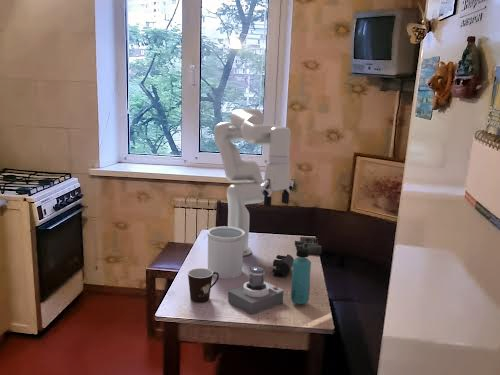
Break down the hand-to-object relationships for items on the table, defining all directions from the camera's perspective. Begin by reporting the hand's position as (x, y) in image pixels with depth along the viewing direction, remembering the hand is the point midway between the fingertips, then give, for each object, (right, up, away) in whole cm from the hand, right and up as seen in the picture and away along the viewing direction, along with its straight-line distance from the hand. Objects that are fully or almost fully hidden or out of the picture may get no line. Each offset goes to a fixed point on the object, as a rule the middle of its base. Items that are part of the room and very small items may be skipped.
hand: (276, 204), depth 172 cm
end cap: (+3, -29, +13) cm, 32 cm away
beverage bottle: (+7, -34, -14) cm, 38 cm away
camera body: (-8, -33, -14) cm, 37 cm away
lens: (-8, -29, -15) cm, 34 cm away
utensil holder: (-20, -28, +10) cm, 36 cm away
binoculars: (+17, -23, +44) cm, 53 cm away
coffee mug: (-26, -33, -14) cm, 44 cm away
